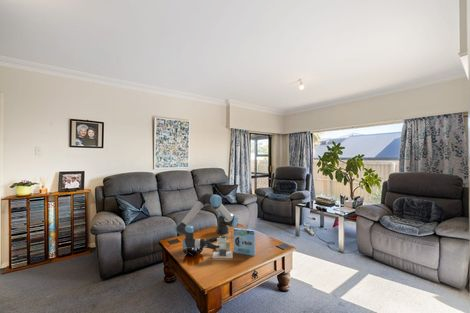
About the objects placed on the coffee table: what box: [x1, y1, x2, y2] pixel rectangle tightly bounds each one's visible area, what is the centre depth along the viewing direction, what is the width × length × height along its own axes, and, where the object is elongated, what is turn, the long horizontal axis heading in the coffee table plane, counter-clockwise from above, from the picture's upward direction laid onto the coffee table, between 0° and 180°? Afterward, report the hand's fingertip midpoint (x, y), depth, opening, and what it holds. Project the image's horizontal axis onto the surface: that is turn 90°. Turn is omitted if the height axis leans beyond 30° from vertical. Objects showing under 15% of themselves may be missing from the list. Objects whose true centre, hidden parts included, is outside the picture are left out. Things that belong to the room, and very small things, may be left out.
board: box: [211, 250, 234, 259], centre depth 188 cm, size 12×18×1 cm, turn 91°
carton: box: [215, 241, 231, 252], centre depth 201 cm, size 12×13×14 cm
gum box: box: [233, 226, 256, 257], centre depth 192 cm, size 20×5×23 cm, turn 72°
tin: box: [218, 235, 227, 256], centre depth 188 cm, size 5×6×16 cm
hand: (223, 242), depth 188 cm, fingers open, 13 cm apart
